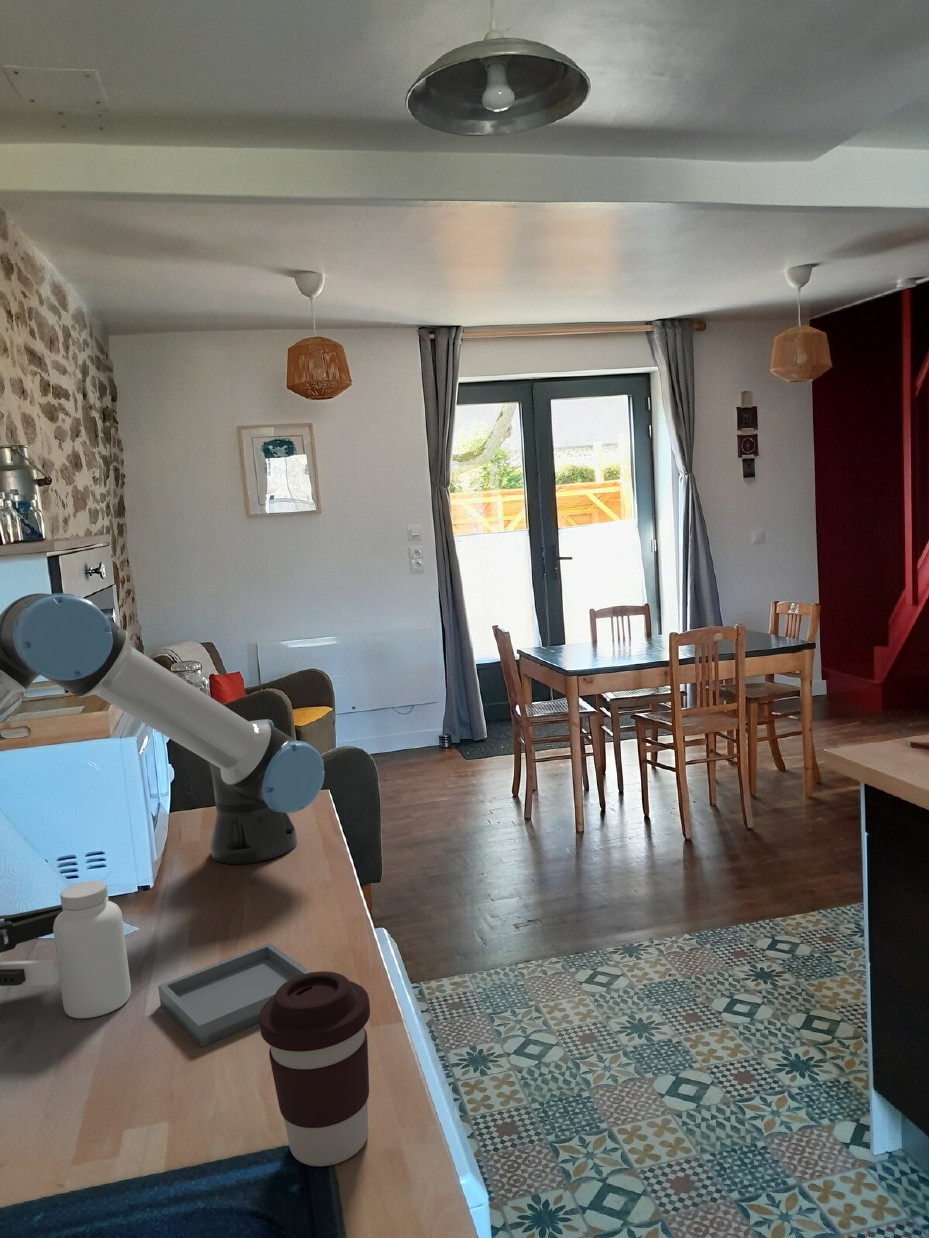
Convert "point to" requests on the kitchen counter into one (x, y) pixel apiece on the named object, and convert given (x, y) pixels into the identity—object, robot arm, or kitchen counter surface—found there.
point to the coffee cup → (320, 1064)
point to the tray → (228, 992)
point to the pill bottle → (91, 951)
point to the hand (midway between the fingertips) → (84, 944)
